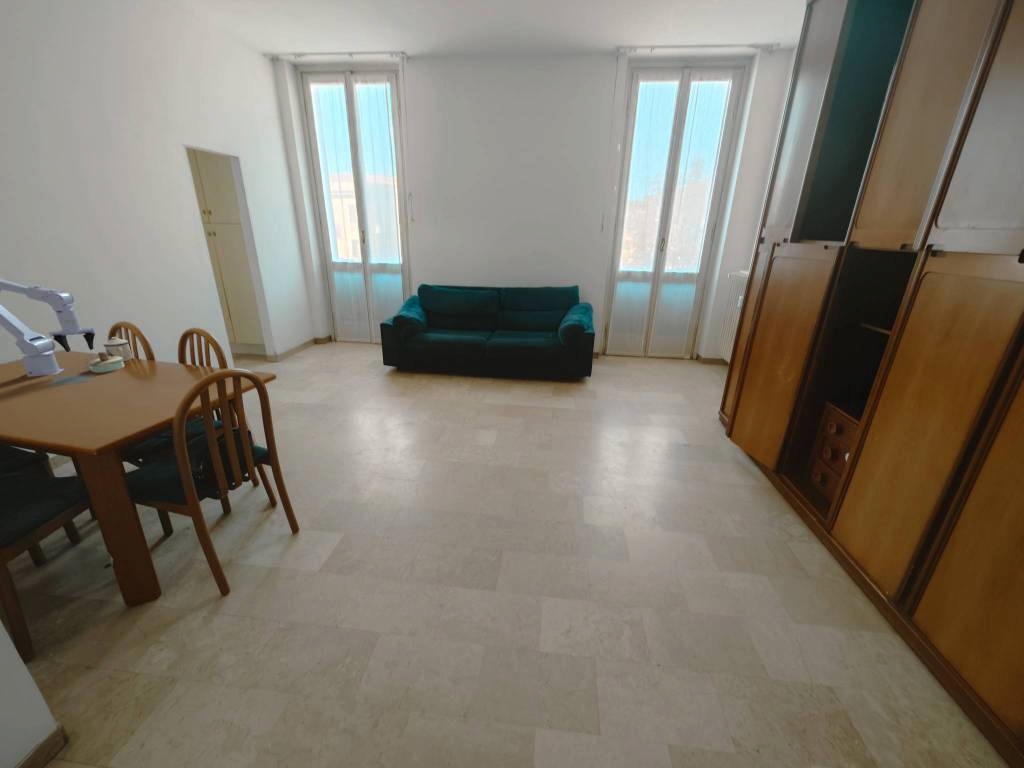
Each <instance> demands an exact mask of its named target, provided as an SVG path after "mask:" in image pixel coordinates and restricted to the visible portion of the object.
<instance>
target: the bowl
mask: <svg viewBox="0 0 1024 768" xmlns="http://www.w3.org/2000/svg"><path fill="white" fill-rule="evenodd" d="M124 367H125V361H123V360H122V361H120V362H117V363H113V364H108V365H101V366H89V369H90V371H91V372H92V373H106V372H107V373H108V372H113V371H117V370H120V369H123V368H124Z"/></svg>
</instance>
